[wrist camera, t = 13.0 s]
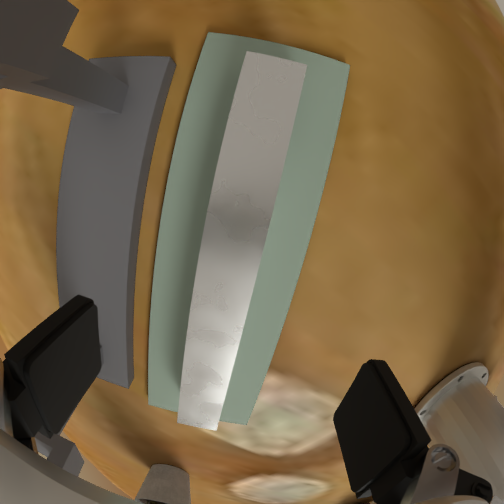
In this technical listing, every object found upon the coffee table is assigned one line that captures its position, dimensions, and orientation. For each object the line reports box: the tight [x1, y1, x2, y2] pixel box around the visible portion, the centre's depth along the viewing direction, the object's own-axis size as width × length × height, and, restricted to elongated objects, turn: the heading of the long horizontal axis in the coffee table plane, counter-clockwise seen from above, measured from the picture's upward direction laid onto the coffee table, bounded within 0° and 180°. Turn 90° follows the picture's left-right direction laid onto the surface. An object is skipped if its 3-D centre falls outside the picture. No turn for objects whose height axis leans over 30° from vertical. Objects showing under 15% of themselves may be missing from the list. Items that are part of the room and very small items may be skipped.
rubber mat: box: [148, 32, 350, 425], centre depth 17 cm, size 9×29×1 cm, turn 167°
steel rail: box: [177, 51, 307, 430], centre depth 15 cm, size 3×24×3 cm, turn 167°
